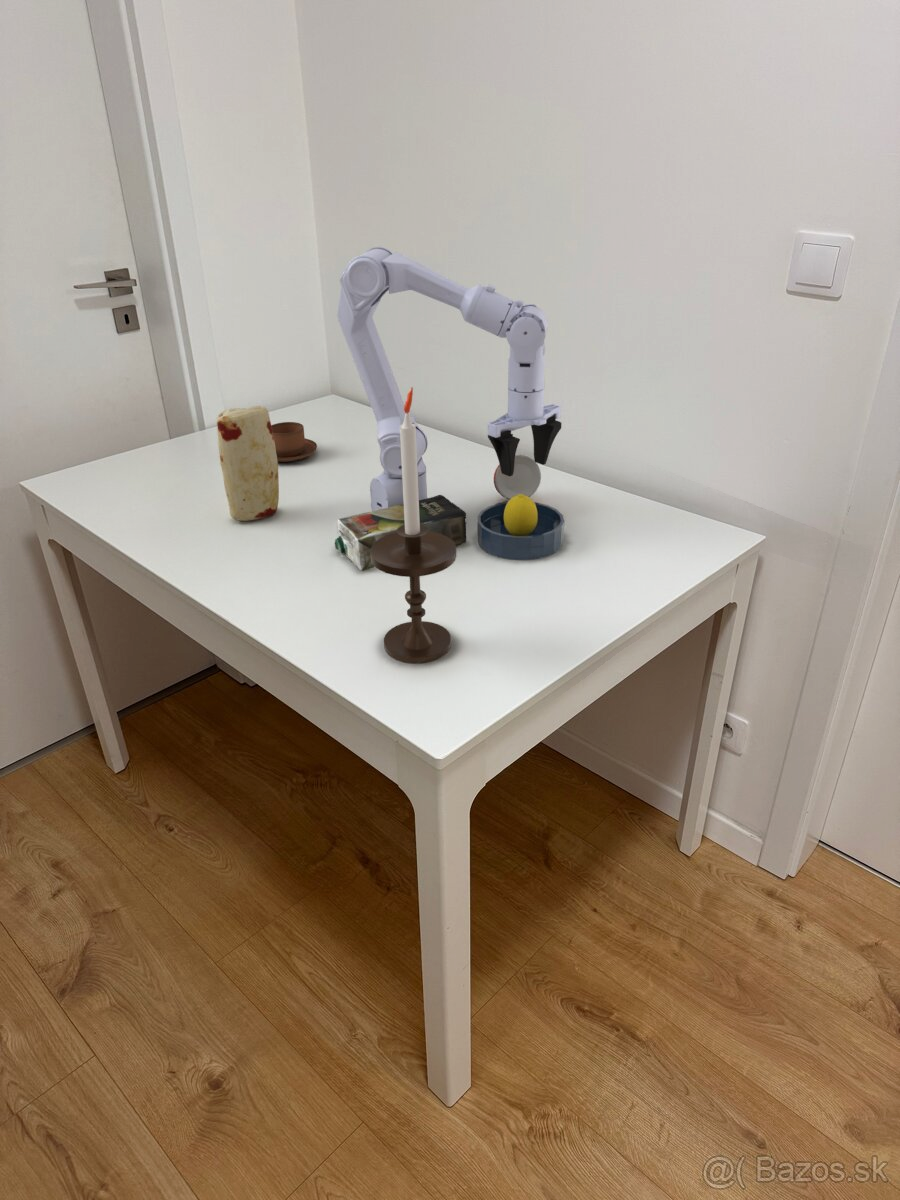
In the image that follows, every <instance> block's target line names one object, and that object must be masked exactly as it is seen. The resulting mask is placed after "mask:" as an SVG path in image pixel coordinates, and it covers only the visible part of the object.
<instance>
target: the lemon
mask: <svg viewBox="0 0 900 1200" xmlns="http://www.w3.org/2000/svg"><path fill="white" fill-rule="evenodd" d="M507 502H508V503H507V505H506V507H505V510H504V524H505V527H506V529H507V530H508V532H509V533H510V534H512V535H513V536H527V535H529V534H531V533H532V532H533V530H534V529H535V527H536V524H537V518H538V514H537V508H536V505H535V503H534V502H535V501H534V500H533V499H532V498H531V497H528V496H525V495H523V494H519V495H517V496H514V497H513V498H511V499H510V500H509V499H508V501H507Z"/></svg>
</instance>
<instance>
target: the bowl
mask: <svg viewBox="0 0 900 1200" xmlns="http://www.w3.org/2000/svg"><path fill="white" fill-rule="evenodd" d="M533 502H534V503H535V505H536V508H537V514H538V518H537V524H536V527H535V529H534V530H533V532H532V533H531V534H529V535H527V536H513V535H512V534H510V533H509V532H508V530H507V529H506V527H505V524H504V510H505V507H506V505H507V503H508V501H503V502H498V503H494V504H492V505H489V506H487V507H485V508H483V509H482V510H481V511H480V512H479V513H478V515H477V516H476V541H477V544H478V547H479V548H480V549H481V550H482V551H483V552H485V553H486V554H489V555H491V556H493V557H495V558H500V559H505V560H511V561H530V560H539V559H543V558H546V557H549V556H552V555H553V554H555V553H557V552H558V551H560V549H561V548H562V547H563V544H564V540H565V539H564V538H565V517H564V514H562V513H561V511H559V510H558V509H557V508H555V507H553V506H550V505H548V504H546V503H545V504H544V503H541V502H537V501H533Z"/></svg>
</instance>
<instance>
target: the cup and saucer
mask: <svg viewBox="0 0 900 1200" xmlns="http://www.w3.org/2000/svg"><path fill="white" fill-rule="evenodd" d="M271 427H272V431H273V436H274V442H275V448H276V455H277V462H278V463H280V462H281V463H287V462H296V461H301V460H304V459H306V458H308V457H310V456H312V455H313V454H314V453H315V452H316V451H317V449H318V443H316V441H314V440H313V439H310V438H306V437H305V429H304V427H305V426H304V425H303V424H302V423H300V422H296V421H283V422H277V423H274V424H271Z"/></svg>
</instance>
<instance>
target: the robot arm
mask: <svg viewBox="0 0 900 1200" xmlns="http://www.w3.org/2000/svg"><path fill="white" fill-rule="evenodd" d="M339 284H340V291H339V300H338V307H337V314H336V315H337V320H338V323H339V326H340V329H341V331H342V334H343V336H344V339H345V342H346V344H347V347H348V349H349V352H350V354H351V358H352V360H353V362H354V366H355V368H356V370H357V372H358V373H357V374H358V375H359V378H360V381H361V383H362V386H363V388H364V391H365V393H366V396H367V399H368V402H369V404H370V407H371V409H372V413H373V415H374V417H375V420H376V422H377V429H376V430H377V431H376V433H377V434H376V435H377V436H376V437H377V443H378V445H379V449H380V452H379V462H380V465H381V467H382V469H383V471H382V473H381V474H379V475H377V476H376V477H374V478H372V479H371V481H370V484H369V493H370V507H371V512H372V511H376V510H379V509H385V508H389V507H393V506H396V505H400V504H404V500H403V480H402V460H401V441H400V425H402V424H403V423H404V419H405V414H407V413H405V411H404V406H405V402H404V400H403V397H402V394H401V392H400V389H399V386H398V383H397V381H396V378H395V375H394V373H393V370H392V367H391V364H390V362H389V359H388V356H387V353H386V351H385V348H384V345H383V343H382V339H381V336H380V334H379V332H378V329H377V325H376V324H375V321H374V314H375V312H376V310H377V309H378V306H379V304H380V302H381V300H382V298H383V297H384V295H385V294H386V293H387V292H388V294H389V295H391V294H397V293H401V292H407V291H413V292H416V293H418V294H420V295H423V296H425V297H428V298H430V299H432V300H435V301H438V302H441V303H443V304H446V305H447V306H450V307H452V308H455V309H457V310H459V312H460V314H461V316H462V318H463V320H464V322H466V323H468V324H471V325H472V326H474V327H476V328H479V329H481V330H484V331H485V332H488V333H490V334H492V335H494V336H495V337H498V338H501V339H506V342H507V343H508V345H509V358H508V366H507V367H508V368H507V369H508V371H507V374H508V375H507V378H508V379H507V412H506V413H505V414H503V415H501V416H500V417H498V418H497V419H495V420H493V421H490V422H488V423H487V438H488V440H489V441H490V443H491V445H492V447H493V449H494V451H495V454H496V457H497V460H498V463H499V464H500V468H501V472H502V474H504V475H507V476H513V473H514V463H515V455H517V454H516V453H517V449H518V446H519V444H520V441H521V439H520V438H519V437H517V436H514V434H513V433H512V432H514V431H517V430H520V429H523V428H526V427H530V428H531V432H532V441H533V460H534V461H535V462H536V463H537V464H540V465H543V466H545V465H546V464H547V461H548V458H549V455H550V451H551V448H552V446H553V443H554V441H555V439H556V437H557V435H558V434H559V432H560V431H561V429H562V422H561V421H560V420H558V419H561V418H562V406H561V405H557V404H553V403H551V404H547V405H545V404H544V402H545V383H546V382H545V381H546V380H545V378H546V356H545V354H546V346H545V340H546V335H547V331H548V327H549V323H548V318H547V315H546V314H545V312H544V311H543V310H542V309H541V308H539V307H538V306H537V305H536V304H534V303H526V304H525V301H524V300H521V299H519V298H518V299H517V301H516V300H514V299H512V298H510V297H508V296H506V295H503V294H502V293H499V292H497V291H495V290H496V286H494V285H492V284H490V283H488V284H487V285H486V286H484V285H482V284H477V285H475V286H472V287H471V288H469V287H466V286H464V285H462V284H460V283H458V282H457V281H455V280H452V279H451V278H449V277H447V276H445V275H443V274H441V273H439V272H437V271H435V270H434V269H431V268H429V267H427V266H426V265H424V264H422V263H419V262H418V261H416V260H415V259H413V258H410V257H409V256H407V255H404V254H403V253H399V252H392V251H391V250H390V249H388V248H386V247H382V246H374V247H372V248H369V249H368V250H366V251H365V252H364V253H362V254H361V255H357V256H355V257H353V258H352V259H351V260H350V261H349V262H348V264H347V265H346V267H345V269H344V270H343V273H342V274H341V275H340V277H339ZM408 414H410V419H411V422H412V424H414V425H416V445H417V470H418V495H419V500H423V499H427V498H428V483H427V479H428V478H427V464H426V463H425V462H424V459H423V456H424V454H425V453H426V451H427V449H428V445H429V444H428V443H429V442H428V437H427V435H426V433H425V431H424V430H423V429H422V428H421V427H420V426H419V425H418V423H417V422H416V419H415V417H414V415H413V414H412V413H411V412H409V413H408ZM499 464H498V465H499Z"/></svg>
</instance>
